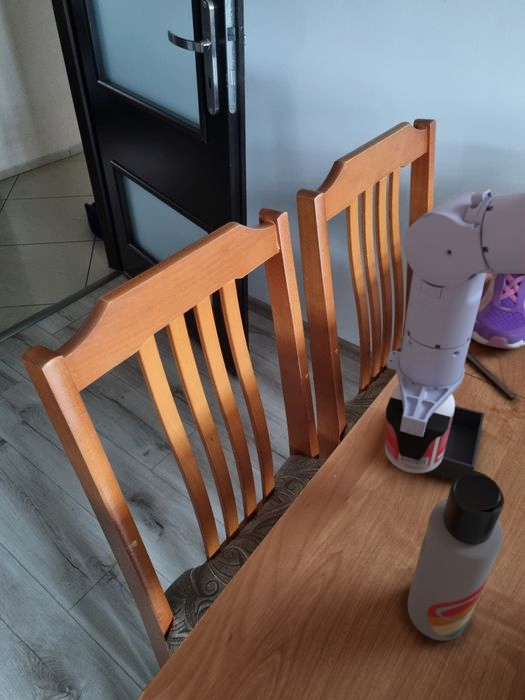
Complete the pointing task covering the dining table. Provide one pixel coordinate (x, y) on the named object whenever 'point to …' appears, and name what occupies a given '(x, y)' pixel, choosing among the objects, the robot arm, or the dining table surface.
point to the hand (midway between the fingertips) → (417, 431)
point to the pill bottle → (434, 450)
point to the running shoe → (502, 312)
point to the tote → (460, 444)
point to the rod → (491, 376)
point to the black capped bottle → (456, 556)
